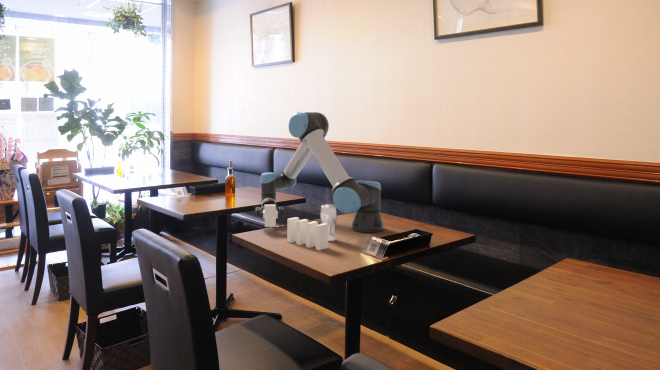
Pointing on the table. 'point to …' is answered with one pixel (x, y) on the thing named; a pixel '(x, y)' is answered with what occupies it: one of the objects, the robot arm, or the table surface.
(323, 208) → the silver metal tumbler
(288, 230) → the tile
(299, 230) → the tile
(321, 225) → the tile
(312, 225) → the tile
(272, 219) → the tile
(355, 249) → the table surface
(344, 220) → the table surface
